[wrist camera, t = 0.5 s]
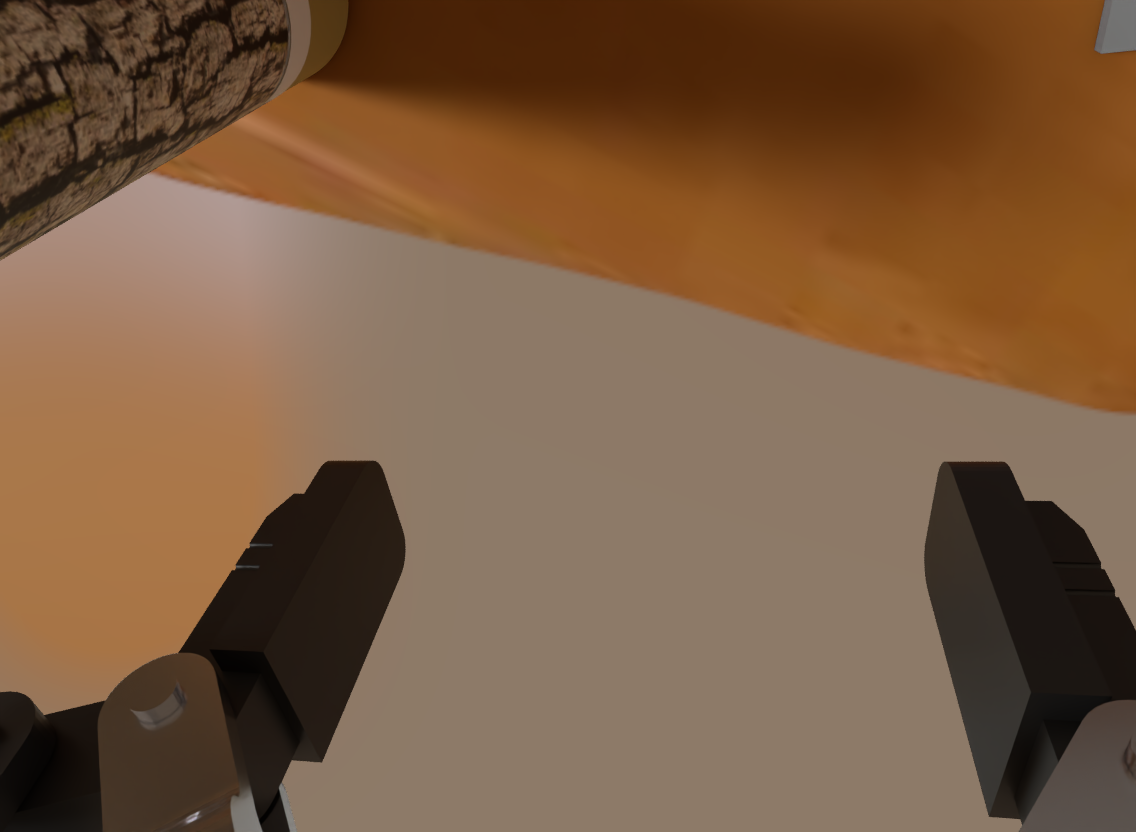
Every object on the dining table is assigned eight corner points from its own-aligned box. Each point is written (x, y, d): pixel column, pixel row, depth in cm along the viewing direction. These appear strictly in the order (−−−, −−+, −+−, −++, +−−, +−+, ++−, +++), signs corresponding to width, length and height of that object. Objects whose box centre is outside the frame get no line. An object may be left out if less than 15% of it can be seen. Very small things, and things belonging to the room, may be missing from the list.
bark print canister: (377, 66, 32) (-197, 455, 12) (226, 88, 34) (-513, 468, 13) (321, -140, 28) (-657, -75, 8) (153, -105, 30) (-1026, 24, 10)
